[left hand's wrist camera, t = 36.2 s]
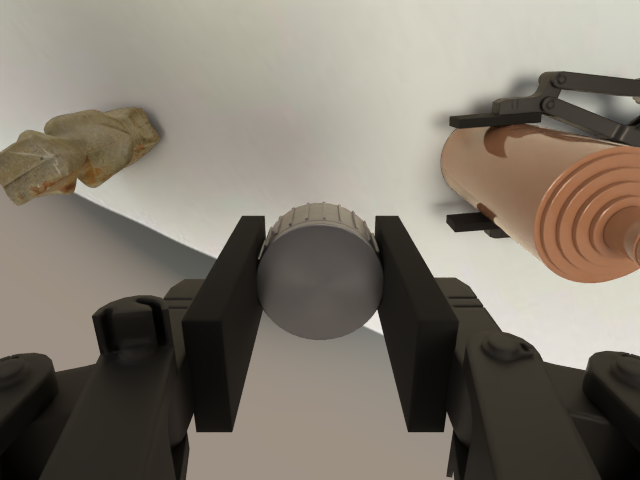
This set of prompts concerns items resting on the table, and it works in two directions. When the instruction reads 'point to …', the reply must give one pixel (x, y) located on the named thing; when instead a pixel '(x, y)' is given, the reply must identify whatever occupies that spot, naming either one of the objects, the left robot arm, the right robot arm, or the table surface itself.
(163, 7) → the table surface
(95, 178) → the sculpture
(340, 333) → the cap
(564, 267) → the bottle
